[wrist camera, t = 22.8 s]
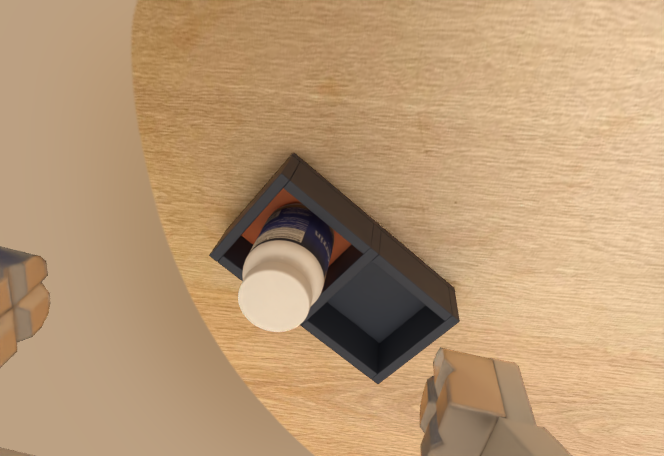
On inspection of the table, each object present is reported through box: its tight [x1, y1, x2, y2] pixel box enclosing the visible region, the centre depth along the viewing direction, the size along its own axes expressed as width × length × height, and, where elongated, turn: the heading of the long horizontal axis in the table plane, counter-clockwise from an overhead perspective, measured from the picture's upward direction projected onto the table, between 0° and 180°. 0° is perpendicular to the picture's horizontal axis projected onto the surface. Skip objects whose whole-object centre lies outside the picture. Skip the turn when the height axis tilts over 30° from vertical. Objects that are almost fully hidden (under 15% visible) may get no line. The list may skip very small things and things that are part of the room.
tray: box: [209, 153, 459, 384], centre depth 41 cm, size 17×9×5 cm, turn 50°
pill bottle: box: [238, 203, 334, 332], centre depth 37 cm, size 6×6×10 cm
